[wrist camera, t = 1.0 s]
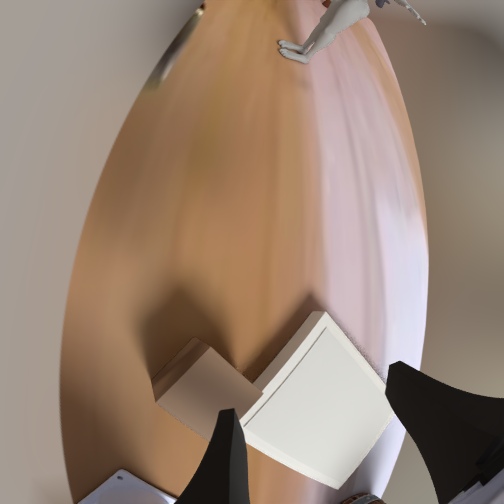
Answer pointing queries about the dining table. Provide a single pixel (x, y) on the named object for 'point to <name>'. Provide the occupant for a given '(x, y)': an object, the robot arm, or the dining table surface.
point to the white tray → (318, 404)
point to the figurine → (333, 27)
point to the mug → (364, 499)
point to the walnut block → (202, 388)
